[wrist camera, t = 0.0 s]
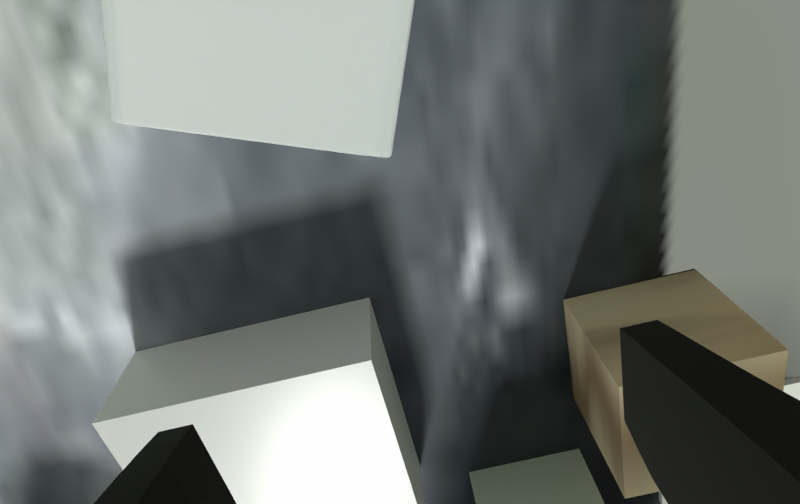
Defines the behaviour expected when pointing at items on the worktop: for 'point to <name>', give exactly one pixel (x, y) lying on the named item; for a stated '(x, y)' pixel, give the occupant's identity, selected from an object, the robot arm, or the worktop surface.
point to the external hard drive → (261, 69)
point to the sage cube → (537, 481)
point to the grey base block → (278, 409)
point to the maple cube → (679, 309)
